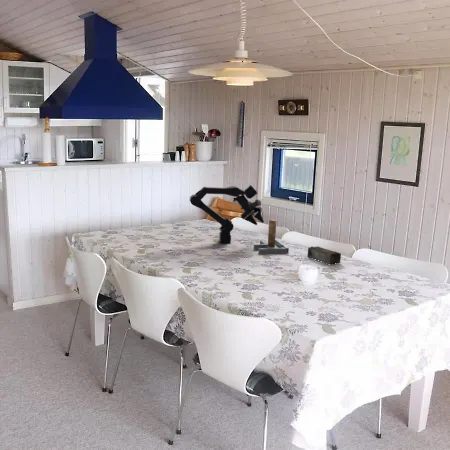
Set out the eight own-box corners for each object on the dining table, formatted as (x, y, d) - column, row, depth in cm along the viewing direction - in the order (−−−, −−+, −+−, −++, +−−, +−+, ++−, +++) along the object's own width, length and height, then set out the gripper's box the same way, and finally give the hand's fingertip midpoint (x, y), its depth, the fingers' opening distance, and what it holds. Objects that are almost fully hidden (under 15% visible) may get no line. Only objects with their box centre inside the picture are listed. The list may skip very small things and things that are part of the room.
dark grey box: (317, 256, 310) (318, 244, 309) (341, 264, 295) (342, 252, 293) (306, 257, 306) (307, 246, 305) (330, 266, 290) (331, 254, 289)
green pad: (267, 248, 323) (267, 247, 323) (262, 245, 331) (262, 244, 331) (278, 248, 325) (278, 247, 325) (273, 244, 333) (274, 244, 333)
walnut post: (268, 247, 324) (270, 221, 321) (266, 245, 328) (268, 219, 325) (275, 247, 325) (277, 221, 322) (273, 245, 329) (275, 219, 326)
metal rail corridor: (258, 254, 310) (259, 249, 309) (248, 245, 329) (248, 240, 329) (288, 253, 314) (288, 248, 313) (276, 244, 334) (276, 239, 333)
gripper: (246, 197, 319) (262, 217, 316) (259, 193, 335) (275, 213, 332) (234, 208, 324) (250, 229, 321) (247, 204, 340) (263, 224, 337)
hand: (260, 223), depth 328 cm, fingers open, 9 cm apart
